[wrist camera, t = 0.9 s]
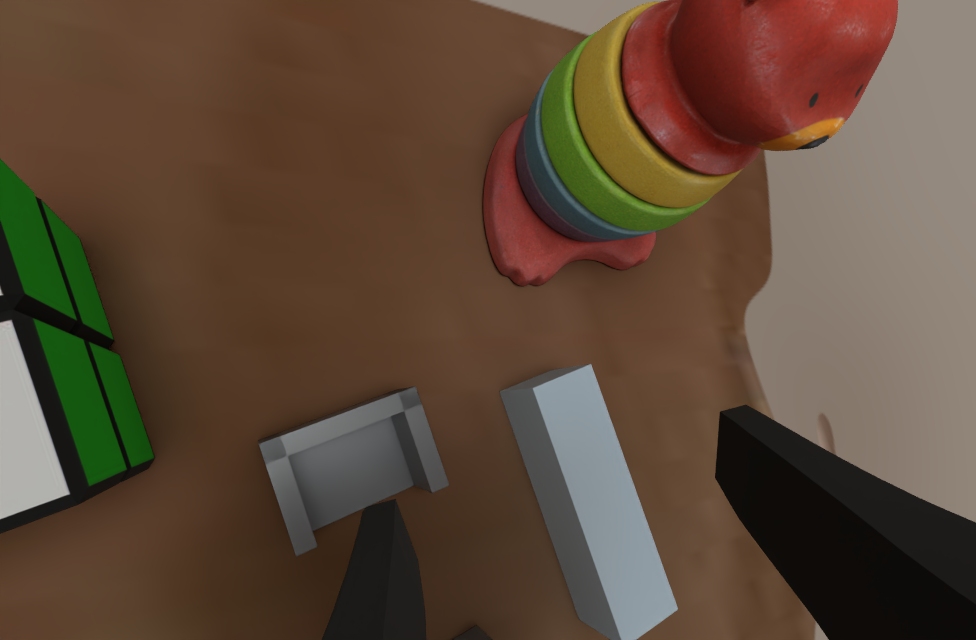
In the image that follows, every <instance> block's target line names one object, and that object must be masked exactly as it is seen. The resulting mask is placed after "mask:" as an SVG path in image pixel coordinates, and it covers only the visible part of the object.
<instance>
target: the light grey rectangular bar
mask: <svg viewBox="0 0 976 640" xmlns="http://www.w3.org/2000/svg"><path fill="white" fill-rule="evenodd" d="M499 392H500V395H501V398H502V401H503V403H504V406H505V409H506V412H507V415H508V418H509V421H510V423H511V426H512V429H513V432H514V435H515V438H516V441H517V443H518V446H519V449H520V452H521V455H522V458H523V461H524V463H525V466H526V469H527V472H528V475H529V478H530V481H531V483H532V486H533V489H534V492H535V495H536V498H537V501H538V503H539V506H540V509H541V512H542V515H543V518H544V521H545V523H546V526H547V529H548V532H549V535H550V538H551V541H552V543H553V546H554V549H555V552H556V555H557V558H558V560H559V563H560V566H561V569H562V572H563V575H564V578H565V580H566V583H567V586H568V589H569V592H570V595H571V598H572V600H573V603H574V606H575V609H576V612H577V615H578V618H579V620H581V621H582V622H584V623H585V624H587V625H589V626H590V627H592V628H593V629H595V630H596V631H598V632H600V633H601V634H603V635H604V636H606V637H608V638H609V639H611V640H636V639H638V638H639V637H640V636H642V635H643V634H644V633H646V632H647V631H649V630H650V629H651V628H653V627H654V626H656V625H657V624H658V623H660V622H661V621H663V620H664V619H665V618H667V617H668V616H670V615H671V614H672V613H674V612H675V611H676V610H678V608H677V605H676V602H675V599H674V597H673V594H672V591H671V588H670V585H669V582H668V580H667V577H666V574H665V571H664V568H663V566H662V563H661V560H660V557H659V554H658V552H657V549H656V546H655V543H654V540H653V537H652V535H651V532H650V529H649V526H648V523H647V521H646V518H645V515H644V512H643V509H642V506H641V504H640V501H639V498H638V495H637V492H636V490H635V487H634V484H633V481H632V478H631V475H630V473H629V470H628V467H627V464H626V461H625V459H624V456H623V453H622V450H621V447H620V444H619V442H618V439H617V436H616V433H615V430H614V428H613V425H612V422H611V419H610V416H609V414H608V411H607V408H606V405H605V402H604V399H603V397H602V394H601V391H600V388H599V385H598V383H597V380H596V377H595V374H594V371H593V368H592V366H591V364H587V365H581V366H574V367H568V368H561V369H555V370H551V371H548V372H546V373H543V374H541V375H538V376H536V377H534V378H531V379H529V380H526V381H524V382H521V383H519V384H516V385H514V386H511V387H509V388H507V389H504V390H502V391H499Z"/></svg>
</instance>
